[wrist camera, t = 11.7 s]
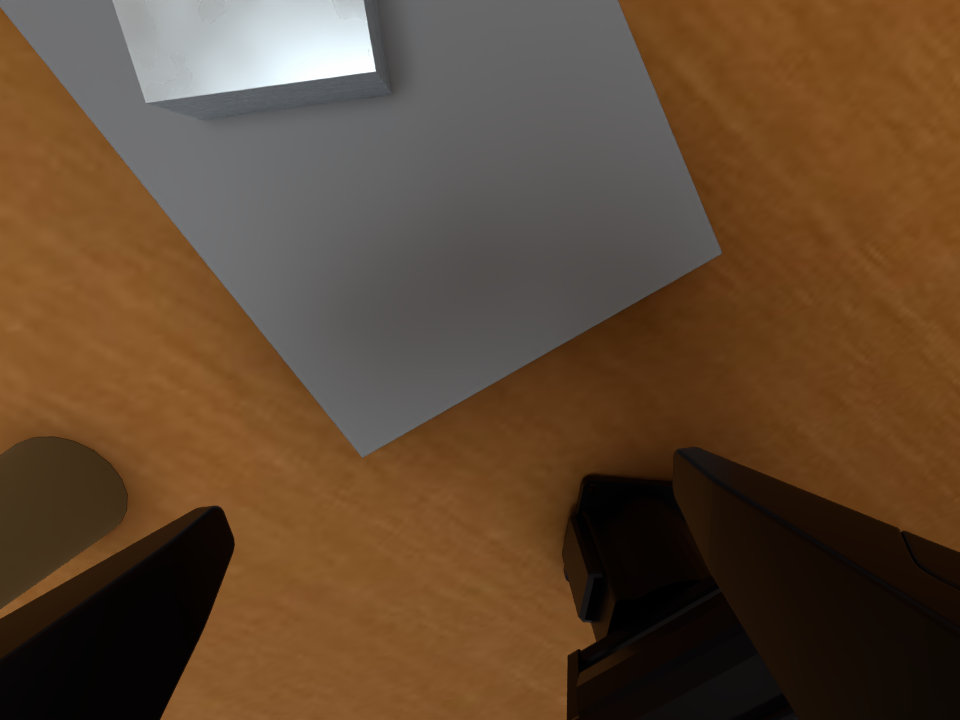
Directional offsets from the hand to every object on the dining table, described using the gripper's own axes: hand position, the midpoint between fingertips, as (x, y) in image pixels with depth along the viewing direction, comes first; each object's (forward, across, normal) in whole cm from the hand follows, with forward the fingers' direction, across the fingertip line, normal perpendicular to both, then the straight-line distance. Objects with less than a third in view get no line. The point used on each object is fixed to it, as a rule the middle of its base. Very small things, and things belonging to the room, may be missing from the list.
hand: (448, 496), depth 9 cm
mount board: (+12, +2, -10) cm, 16 cm away
